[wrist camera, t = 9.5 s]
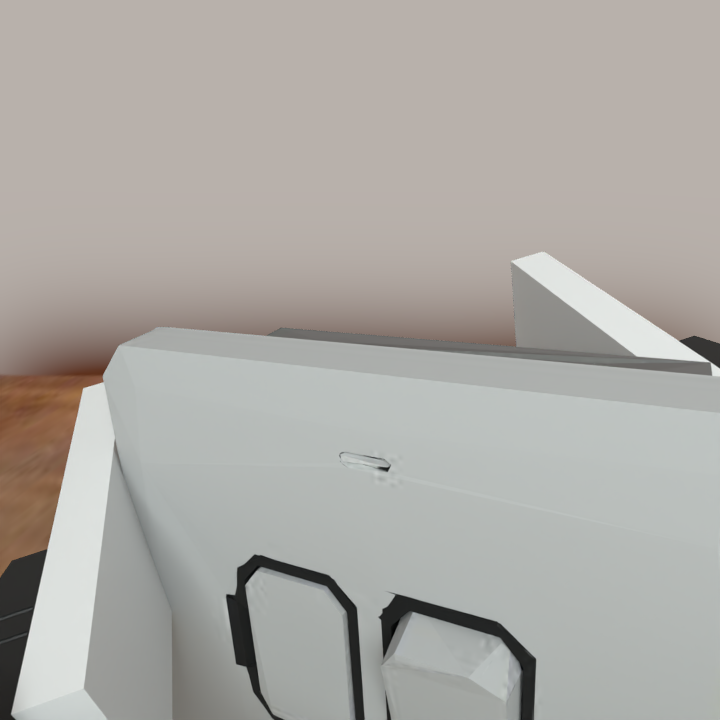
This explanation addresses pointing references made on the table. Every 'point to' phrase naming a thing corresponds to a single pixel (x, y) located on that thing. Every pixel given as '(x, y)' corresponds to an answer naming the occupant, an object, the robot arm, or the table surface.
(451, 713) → the electrical switch
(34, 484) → the table surface
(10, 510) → the table surface
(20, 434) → the table surface
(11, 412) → the table surface
